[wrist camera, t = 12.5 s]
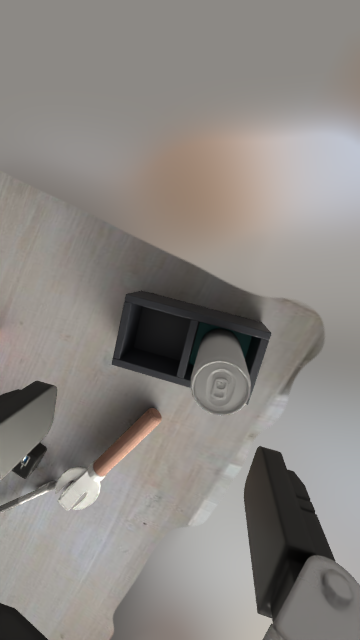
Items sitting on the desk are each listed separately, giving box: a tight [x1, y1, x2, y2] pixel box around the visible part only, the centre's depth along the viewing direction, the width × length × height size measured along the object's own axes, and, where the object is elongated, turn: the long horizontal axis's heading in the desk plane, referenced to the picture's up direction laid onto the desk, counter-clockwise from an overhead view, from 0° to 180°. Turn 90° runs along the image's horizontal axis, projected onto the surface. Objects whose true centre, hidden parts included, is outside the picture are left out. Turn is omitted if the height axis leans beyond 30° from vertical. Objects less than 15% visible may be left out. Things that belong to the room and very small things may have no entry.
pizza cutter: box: [55, 408, 162, 511], centre depth 37 cm, size 20×6×3 cm, turn 137°
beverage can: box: [191, 328, 251, 416], centre depth 26 cm, size 5×5×12 cm
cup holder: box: [112, 291, 271, 405], centre depth 31 cm, size 8×15×6 cm, turn 76°
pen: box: [0, 481, 57, 513], centre depth 41 cm, size 1×14×1 cm, turn 121°
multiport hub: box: [12, 443, 47, 479], centre depth 39 cm, size 4×11×2 cm, turn 59°
